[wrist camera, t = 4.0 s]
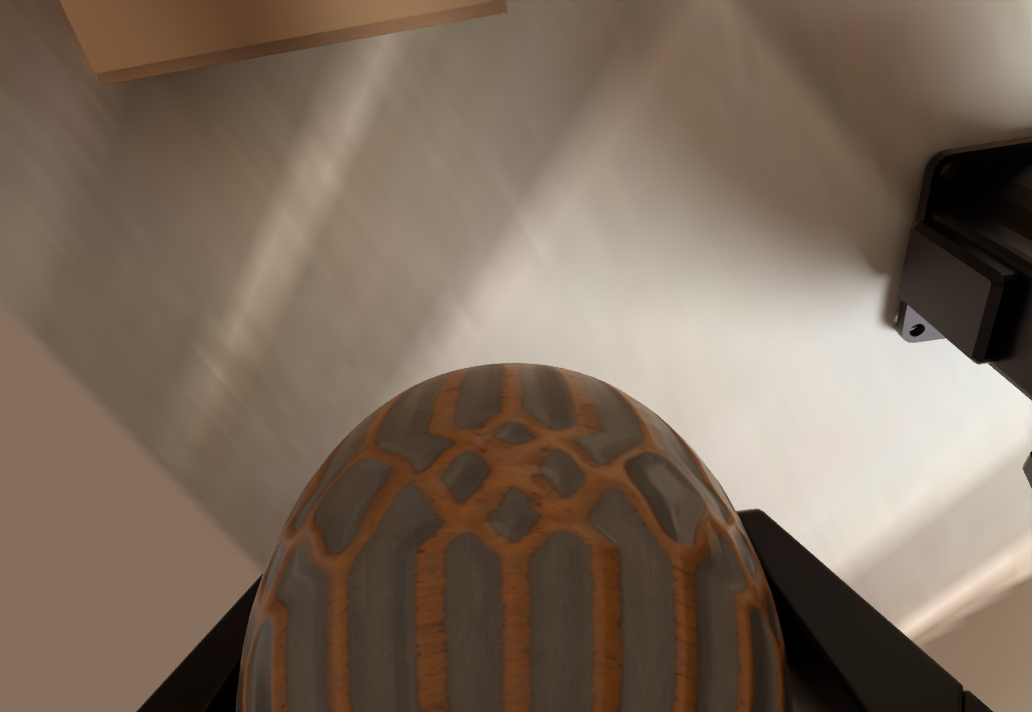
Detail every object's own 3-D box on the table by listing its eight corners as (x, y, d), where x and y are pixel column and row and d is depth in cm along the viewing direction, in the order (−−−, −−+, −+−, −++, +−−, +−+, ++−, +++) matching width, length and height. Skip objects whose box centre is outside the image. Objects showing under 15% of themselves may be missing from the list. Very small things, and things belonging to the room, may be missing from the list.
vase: (777, 398, 11) (1313, 1269, 4) (573, 617, 14) (647, 1323, 7) (417, 220, 9) (80, 1236, 2) (274, 516, 13) (-60, 1328, 5)
